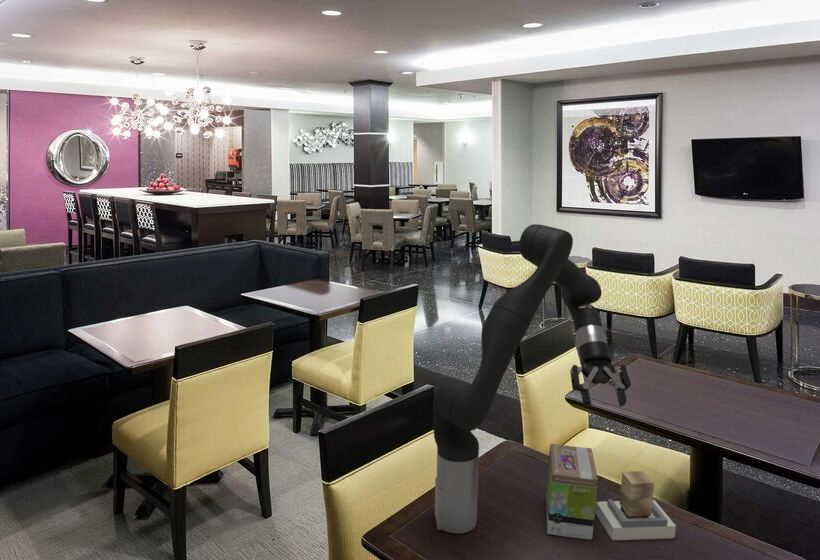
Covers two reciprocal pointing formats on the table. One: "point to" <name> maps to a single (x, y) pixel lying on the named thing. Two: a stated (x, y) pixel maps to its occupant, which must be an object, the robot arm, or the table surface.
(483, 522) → the table surface
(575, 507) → the tea box
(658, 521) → the dock
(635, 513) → the tall cardboard box
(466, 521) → the robot arm
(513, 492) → the table surface
